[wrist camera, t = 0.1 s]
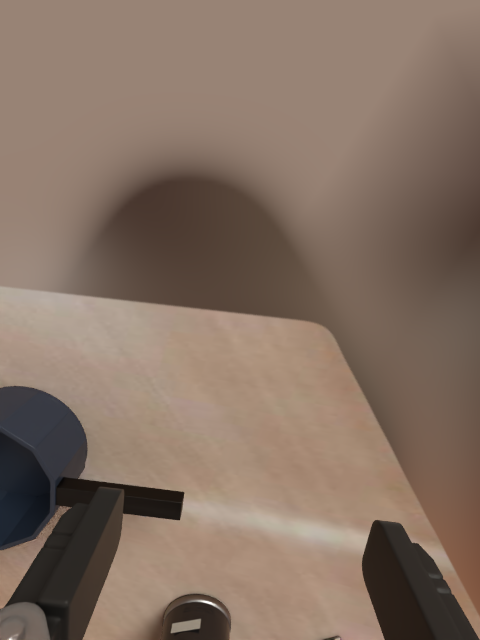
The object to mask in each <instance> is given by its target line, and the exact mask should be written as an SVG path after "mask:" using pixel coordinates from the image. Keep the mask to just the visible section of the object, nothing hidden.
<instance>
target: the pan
mask: <svg viewBox="0 0 480 640" xmlns="http://www.w3.org/2000/svg"><path fill="white" fill-rule="evenodd" d="M86 458H87V440H86V435H85V432H84V429H83V427H82V425H81V423H80V421H79V420H78V418H77V417H76V415H75V414H74V413H73V412H72V411H71V410H70V409H69V408H68V407H67V406H66V405H65V404H64V403H63V402H61V401H60V400H59V399H57V398H55V397H54V396H52V395H50V394H48V393H46V392H43V391H41V390H37V389H34V388H29V387H21V386H10V387H3V388H0V550H4V549H7V548H10V547H13V546H16V545H19V544H22V543H25V542H27V541H30V540H33V539H35V538H36V537H37V536H38V535H39V533H40V532H41V531H42V529H43V528H44V527H45V526H46V524H47V523H48V522H49V521H50V519H51V518H52V517H53V516H54V514H55V513H56V511H57V510H58V508H59V507H60V506H66V507H73V506H74V505H75V504H76V503H83V504H90V502H91V500H92V498H93V496H94V495H95V493H96V491H97V489H98V488H99V487H108V488H116V489H123V490H124V504H123V513H124V514H132V515H140V516H148V517H156V518H165V519H173V520H180V517H181V513H182V507H183V499H184V492H179V491H171V490H163V489H155V488H147V487H139V486H131V485H123V484H115V483H107V482H99V481H91V480H83V479H78V477H79V476H80V474H81V473H82V471H83V470H84V468H85V461H86Z"/></svg>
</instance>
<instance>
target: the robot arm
mask: <svg viewBox="0 0 480 640" xmlns="http://www.w3.org/2000/svg"><path fill="white" fill-rule="evenodd" d="M123 504H124V490H123V489H116V488H108V487H99V488H98V489H97V491H96V493H95V495H94V496H93V498H92V500H91V502H90V504H83V503H76V504H75V505H74V506H73V507H72V508H70V509H69V510H68V511H67V512H65V513H64V514H63V515H62V516H61V518H60V520H59V521H58V523H57V524H56V526H55V528H54V529H53V531H52V534H50V536H49V537H48V539H47V540H46V542H45V544H44V547H43V548H41V550H40V552H39V553H38V555H37V557H36V558H35V560H34V561H33V563H32V565H31V566H30V568H29V569H28V571H27V573H26V574H25V576H24V577H23V579H22V581H21V582H20V584H19V586H18V587H17V589H16V590H15V592H14V594H13V595H12V597H11V598H10V600H9V601H8V603H7V604H6V605H5V607H4V608H2V609H0V640H82V639H83V637H84V634H85V632H86V629H87V627H88V624H89V621H90V619H91V616H92V614H93V611H94V608H95V606H96V603H97V601H98V598H99V595H100V593H101V590H102V588H103V585H104V582H105V580H106V577H107V575H108V572H109V569H110V567H111V564H112V562H113V559H114V556H115V554H116V551H117V548H118V544H119V540H120V536H121V530H122V517H123ZM362 571H363V577H364V581H365V584H366V587H367V590H368V593H369V596H370V599H371V601H372V604H373V607H374V610H375V613H376V616H377V619H378V622H379V624H380V627H381V630H382V633H383V636H384V639H385V640H479V638H478V636H477V635H476V633H475V631H474V630H473V628H472V626H471V624H470V623H469V621H468V619H467V617H466V616H465V614H464V612H463V610H462V609H461V607H460V605H459V604H458V602H457V600H456V598H455V597H454V595H452V594H451V590H450V588H449V586H448V584H447V583H446V581H445V580H443V576H442V574H441V572H440V571H439V569H438V567H437V565H436V564H435V562H434V560H433V559H432V558H431V557H430V556H429V555H428V554H427V553H426V551H425V550H424V549H423V548H422V547H421V546H420V545H419V544H417V543H412V542H411V541H410V539H409V537H408V535H407V533H406V531H405V530H404V528H403V526H402V525H401V524H400V523H396V522H388V521H380V520H375V521H374V522H373V524H372V527H371V530H370V534H369V537H368V541H367V544H366V548H365V551H364V555H363V560H362ZM230 630H231V617H230V614H229V611H228V609H227V608H226V607H225V606H224V605H223V604H222V603H221V602H220V601H218V600H217V599H215V598H212V597H210V596H206V595H199V594H193V595H187V596H183V597H180V598H178V599H176V600H175V601H173V602H172V603H171V604H170V605H169V606H168V608H167V610H166V612H165V615H164V620H163V629H162V634H161V639H160V640H230Z"/></svg>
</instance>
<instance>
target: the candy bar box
mask: <svg viewBox="0 0 480 640" xmlns="http://www.w3.org/2000/svg"><path fill="white" fill-rule="evenodd" d="M327 640H341V637H335V638H331V639H327Z"/></svg>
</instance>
